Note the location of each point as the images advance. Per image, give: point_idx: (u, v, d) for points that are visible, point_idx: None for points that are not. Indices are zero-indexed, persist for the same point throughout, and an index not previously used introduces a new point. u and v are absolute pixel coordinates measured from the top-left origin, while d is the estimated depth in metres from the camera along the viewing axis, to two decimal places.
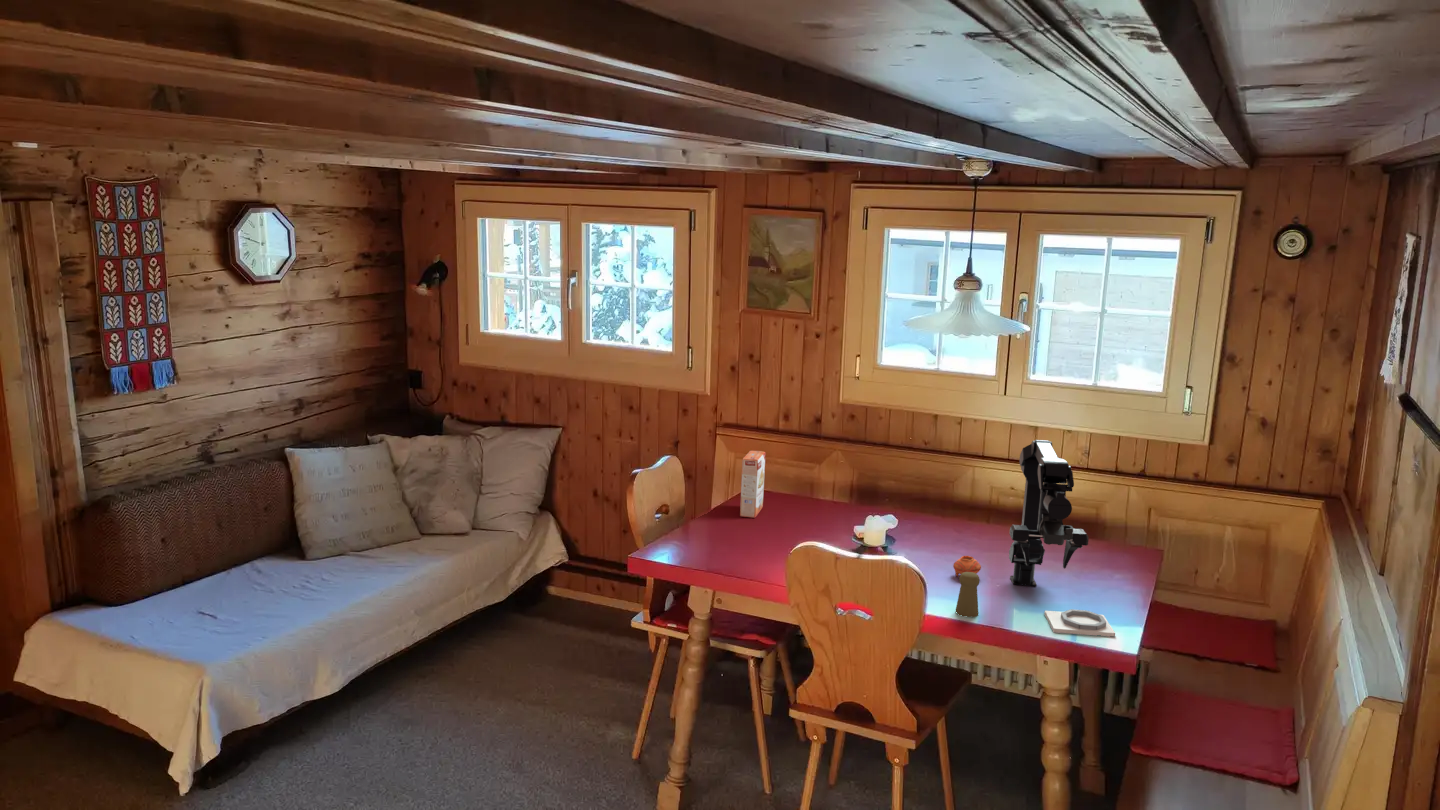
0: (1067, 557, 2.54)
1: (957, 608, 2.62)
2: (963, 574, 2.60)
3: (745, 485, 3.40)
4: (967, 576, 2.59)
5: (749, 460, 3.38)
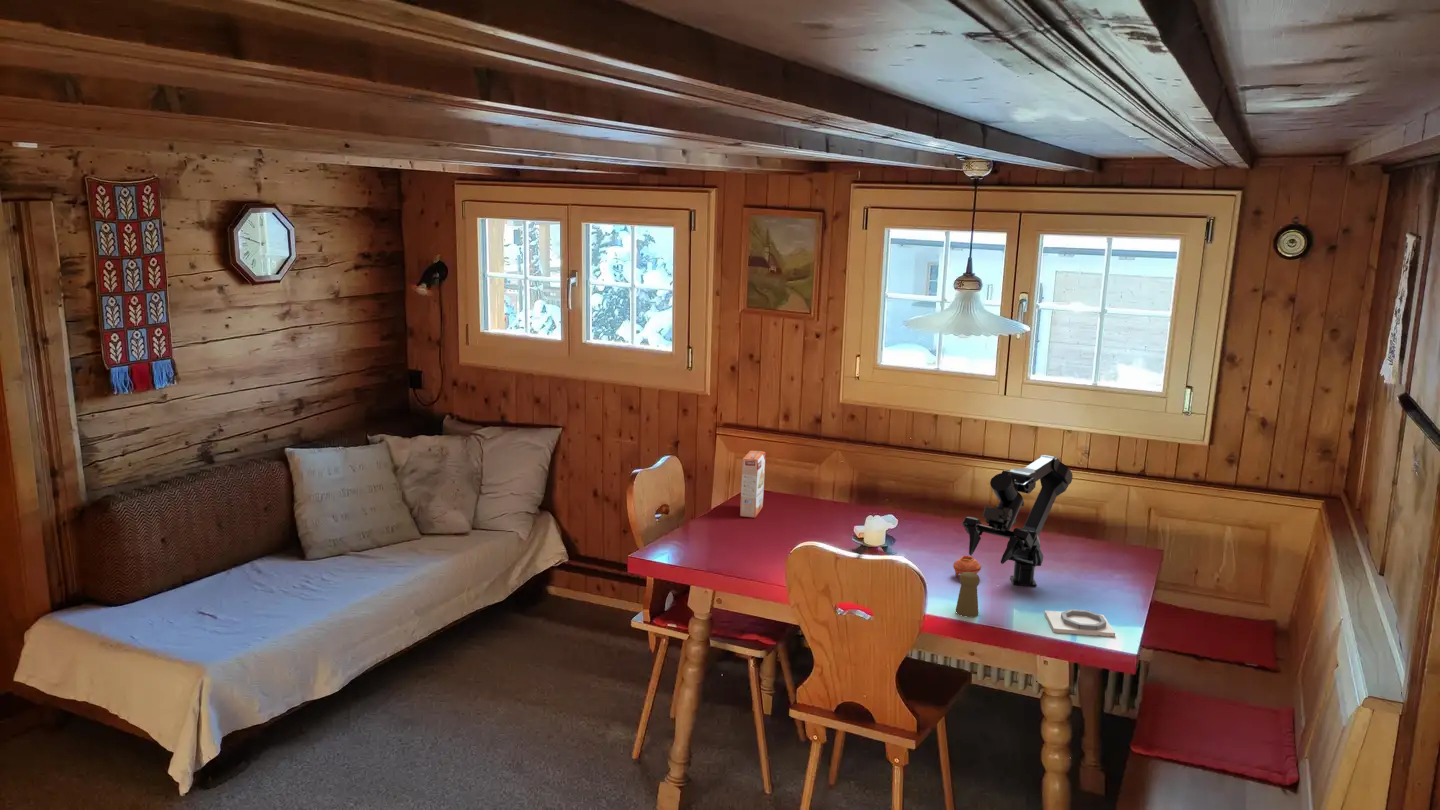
0: (1006, 550, 2.63)
1: (957, 608, 2.62)
2: (963, 574, 2.60)
3: (745, 485, 3.40)
4: (967, 576, 2.59)
5: (749, 460, 3.38)
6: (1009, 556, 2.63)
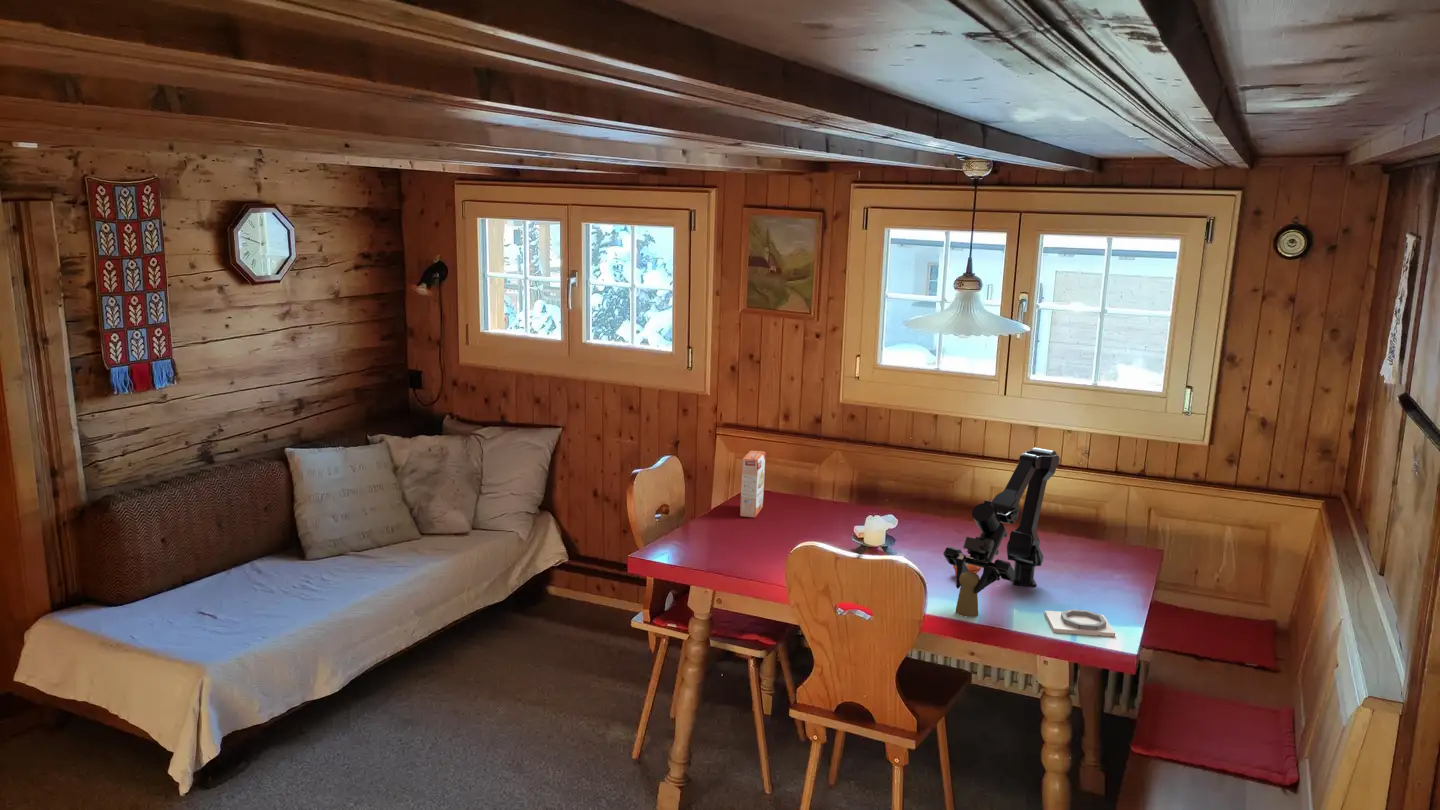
0: (980, 580, 2.59)
1: (957, 608, 2.62)
2: (963, 574, 2.60)
3: (745, 485, 3.40)
4: (967, 576, 2.59)
5: (749, 460, 3.38)
6: (983, 586, 2.59)
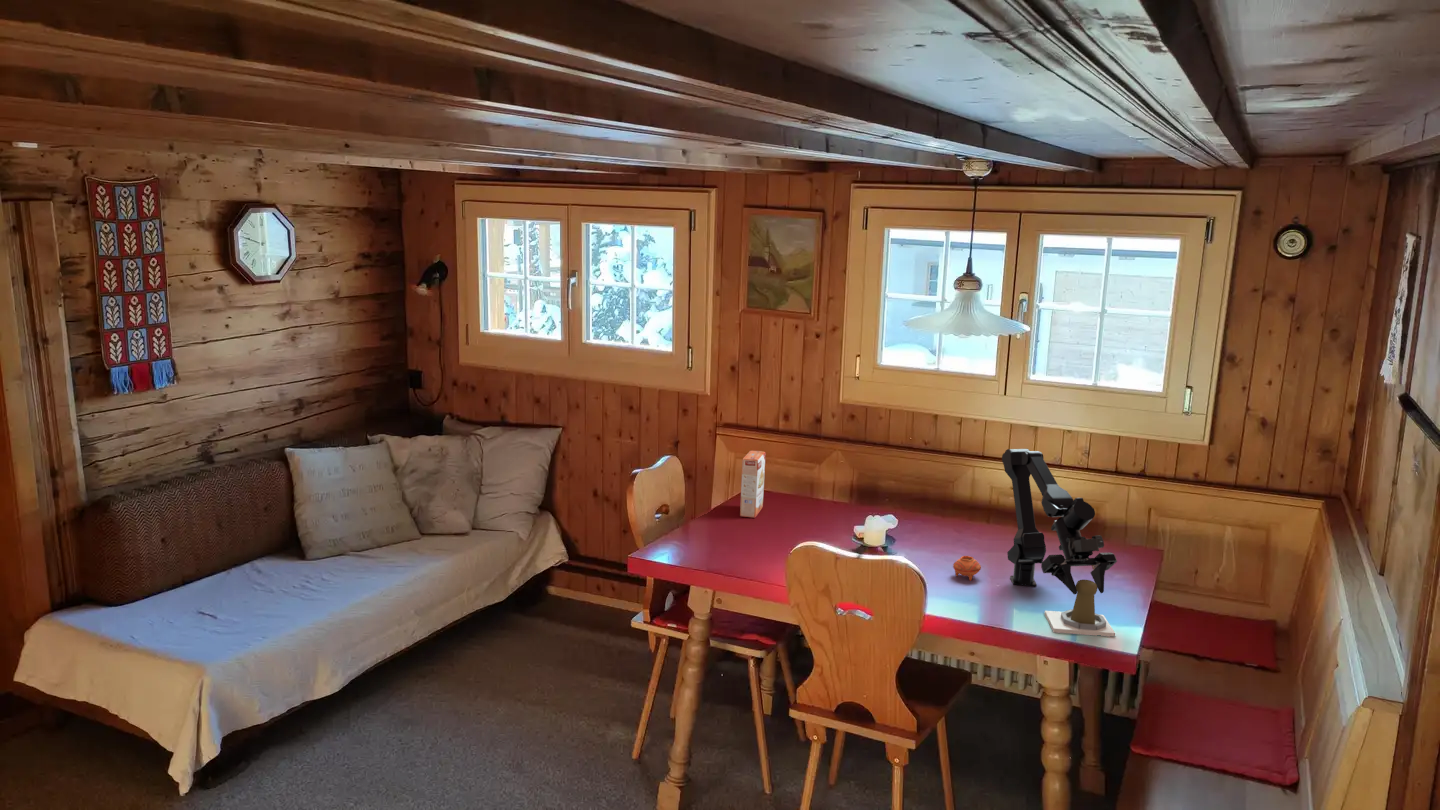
0: (1101, 579, 2.55)
1: (1082, 620, 2.53)
2: (1086, 584, 2.52)
3: (745, 485, 3.40)
4: (1092, 584, 2.52)
5: (749, 460, 3.38)
6: None
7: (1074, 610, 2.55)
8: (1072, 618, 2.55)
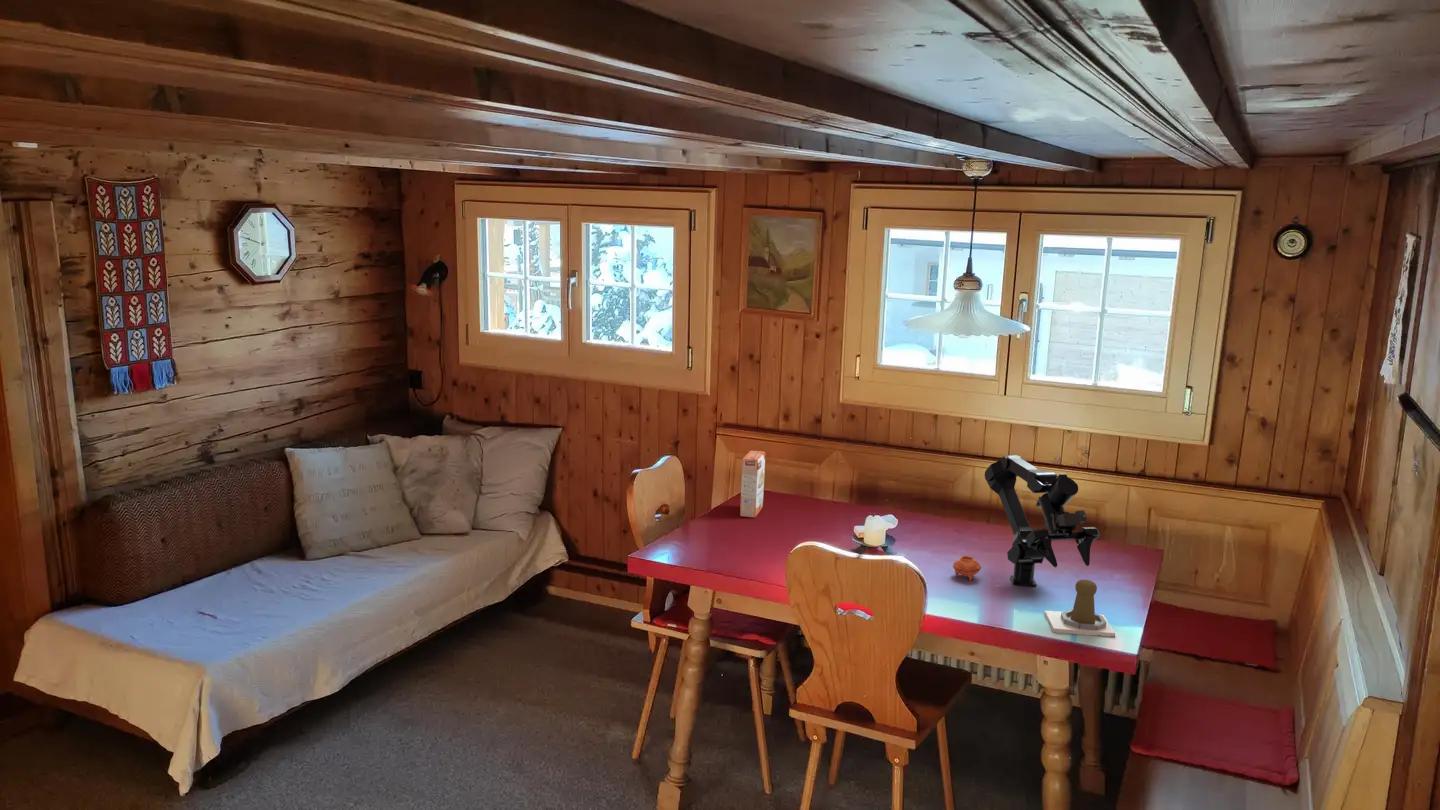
0: (1087, 552, 2.63)
1: (1082, 620, 2.53)
2: (1085, 584, 2.52)
3: (745, 485, 3.40)
4: (1091, 584, 2.52)
5: (749, 460, 3.38)
6: None
7: (1074, 610, 2.55)
8: (1072, 618, 2.55)
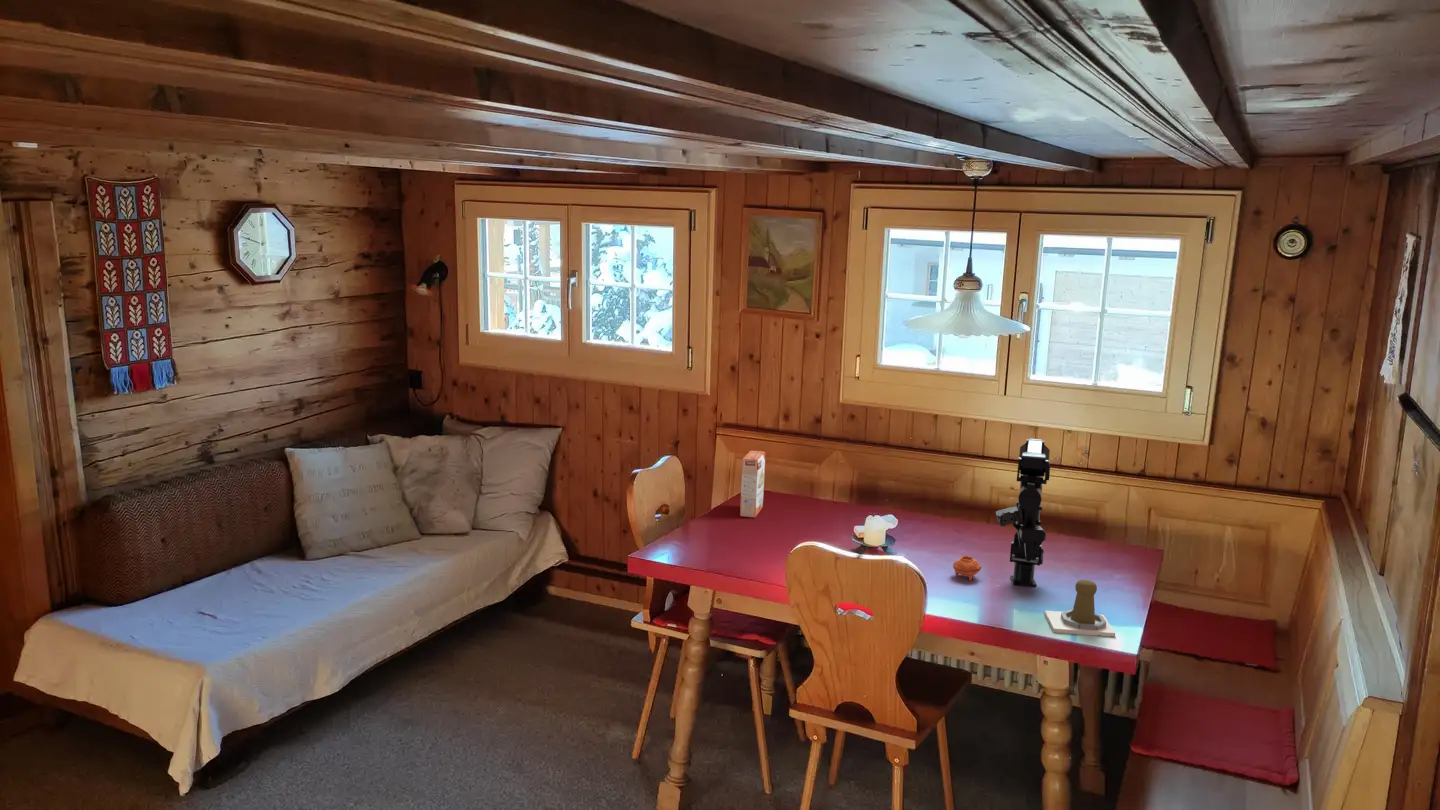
0: (1025, 549, 2.65)
1: (1082, 620, 2.53)
2: (1085, 584, 2.52)
3: (745, 485, 3.40)
4: (1091, 584, 2.52)
5: (749, 460, 3.38)
6: (1032, 552, 2.64)
7: (1074, 610, 2.55)
8: (1072, 618, 2.55)
